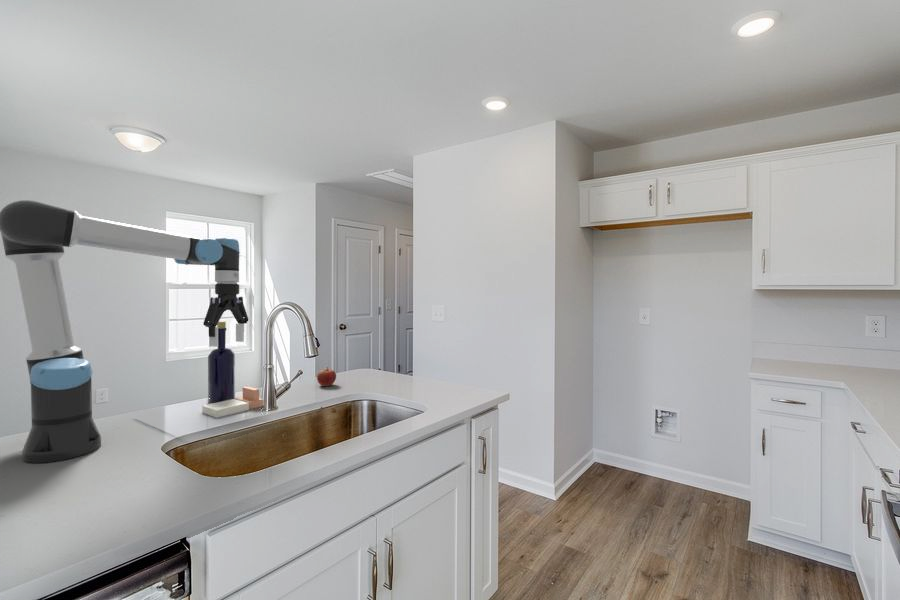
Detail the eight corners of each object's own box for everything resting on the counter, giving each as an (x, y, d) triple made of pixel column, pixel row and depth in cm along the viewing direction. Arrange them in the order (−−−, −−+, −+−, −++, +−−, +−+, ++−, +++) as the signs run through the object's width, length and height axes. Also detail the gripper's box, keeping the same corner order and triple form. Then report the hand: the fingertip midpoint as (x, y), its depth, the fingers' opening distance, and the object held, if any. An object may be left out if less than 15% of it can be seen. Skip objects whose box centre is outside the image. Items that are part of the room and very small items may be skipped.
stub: (249, 409, 147) (249, 391, 147) (235, 404, 152) (235, 388, 152) (263, 406, 151) (263, 389, 151) (249, 401, 156) (249, 385, 156)
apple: (337, 383, 192) (337, 365, 192) (334, 387, 184) (334, 369, 184) (319, 383, 192) (319, 365, 191) (315, 387, 184) (315, 369, 183)
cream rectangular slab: (216, 417, 138) (216, 409, 138) (202, 412, 143) (202, 405, 143) (249, 409, 147) (249, 402, 147) (234, 405, 152) (234, 398, 152)
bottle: (241, 400, 163) (240, 320, 162) (226, 406, 154) (225, 322, 153) (218, 399, 164) (217, 320, 163) (201, 405, 155) (201, 322, 154)
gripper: (211, 282, 137) (211, 349, 138) (258, 283, 162) (258, 340, 163) (190, 282, 138) (190, 348, 139) (240, 283, 163) (240, 339, 164)
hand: (227, 344), depth 151 cm, fingers open, 13 cm apart
